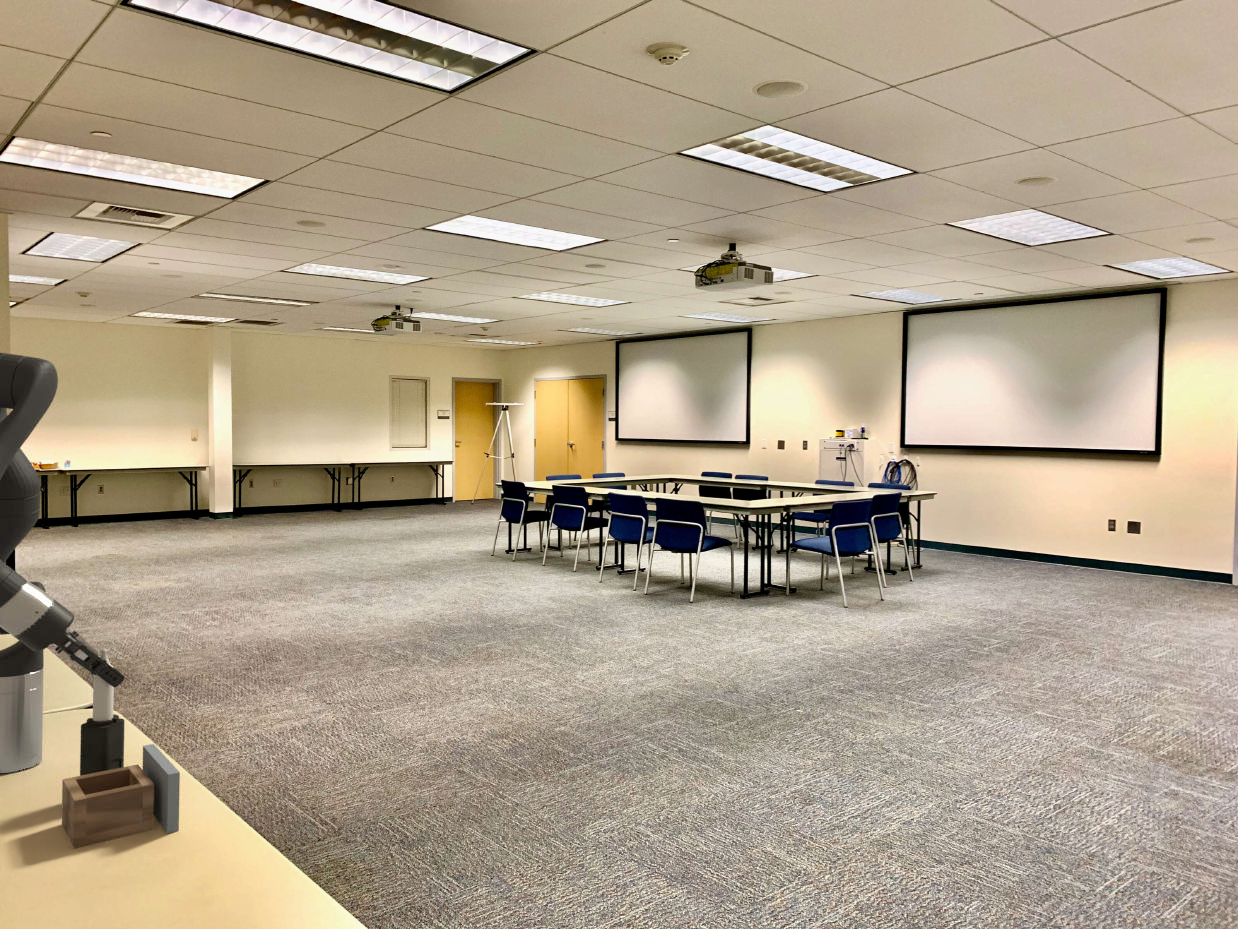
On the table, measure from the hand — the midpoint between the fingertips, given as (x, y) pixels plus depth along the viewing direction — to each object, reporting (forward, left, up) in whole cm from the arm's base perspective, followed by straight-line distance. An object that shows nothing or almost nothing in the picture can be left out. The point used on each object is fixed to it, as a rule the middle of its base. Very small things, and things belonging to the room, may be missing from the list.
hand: (117, 680), depth 144 cm
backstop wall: (+13, -1, -19) cm, 23 cm away
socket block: (+10, -8, -19) cm, 23 cm away
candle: (-1, -2, -20) cm, 20 cm away
